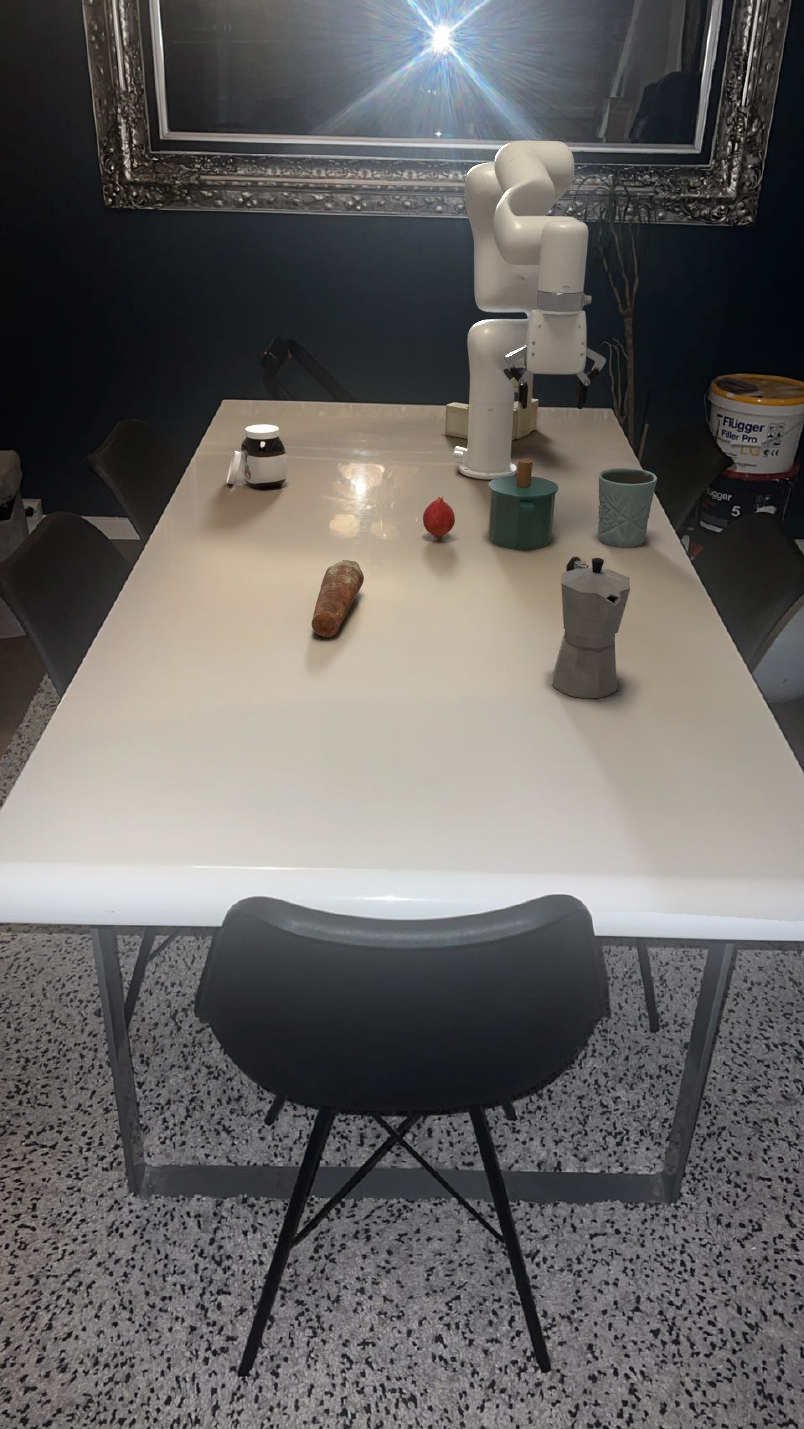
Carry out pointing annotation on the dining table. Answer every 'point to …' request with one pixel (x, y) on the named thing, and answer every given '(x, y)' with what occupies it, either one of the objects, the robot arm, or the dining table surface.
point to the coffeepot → (589, 629)
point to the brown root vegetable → (336, 596)
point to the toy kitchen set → (521, 417)
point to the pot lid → (523, 484)
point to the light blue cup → (624, 505)
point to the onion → (438, 518)
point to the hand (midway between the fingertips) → (551, 407)
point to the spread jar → (260, 458)
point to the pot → (521, 521)
